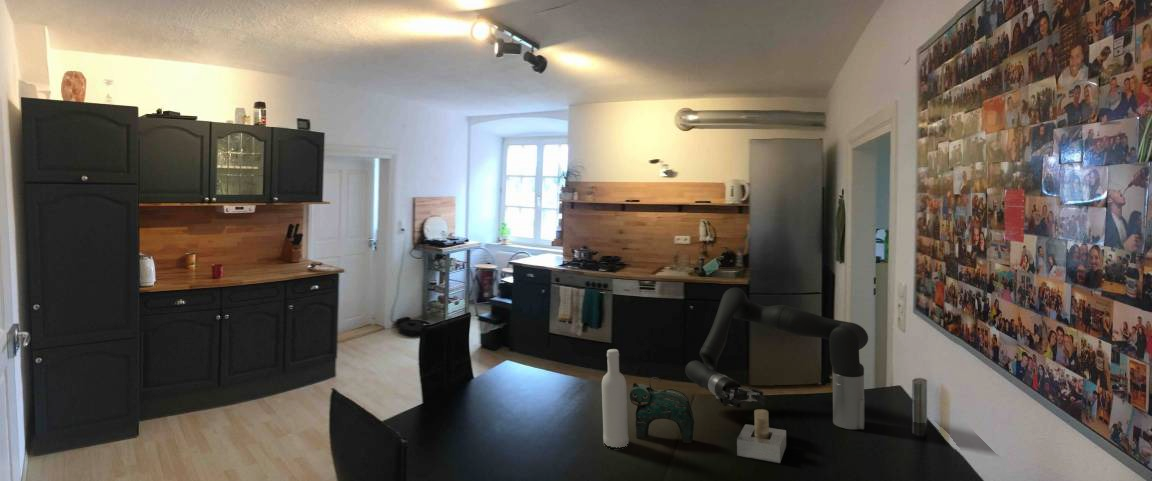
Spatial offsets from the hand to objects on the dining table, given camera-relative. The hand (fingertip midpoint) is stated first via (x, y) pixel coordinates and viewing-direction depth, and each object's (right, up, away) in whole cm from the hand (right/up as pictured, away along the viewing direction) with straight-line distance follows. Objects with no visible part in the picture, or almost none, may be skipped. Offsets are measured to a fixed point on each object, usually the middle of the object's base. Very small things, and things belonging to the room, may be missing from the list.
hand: (752, 403), depth 170 cm
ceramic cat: (-26, -14, +9) cm, 31 cm away
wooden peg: (+2, -13, -3) cm, 14 cm away
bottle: (-41, -14, +5) cm, 44 cm away
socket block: (+2, -13, -3) cm, 14 cm away
